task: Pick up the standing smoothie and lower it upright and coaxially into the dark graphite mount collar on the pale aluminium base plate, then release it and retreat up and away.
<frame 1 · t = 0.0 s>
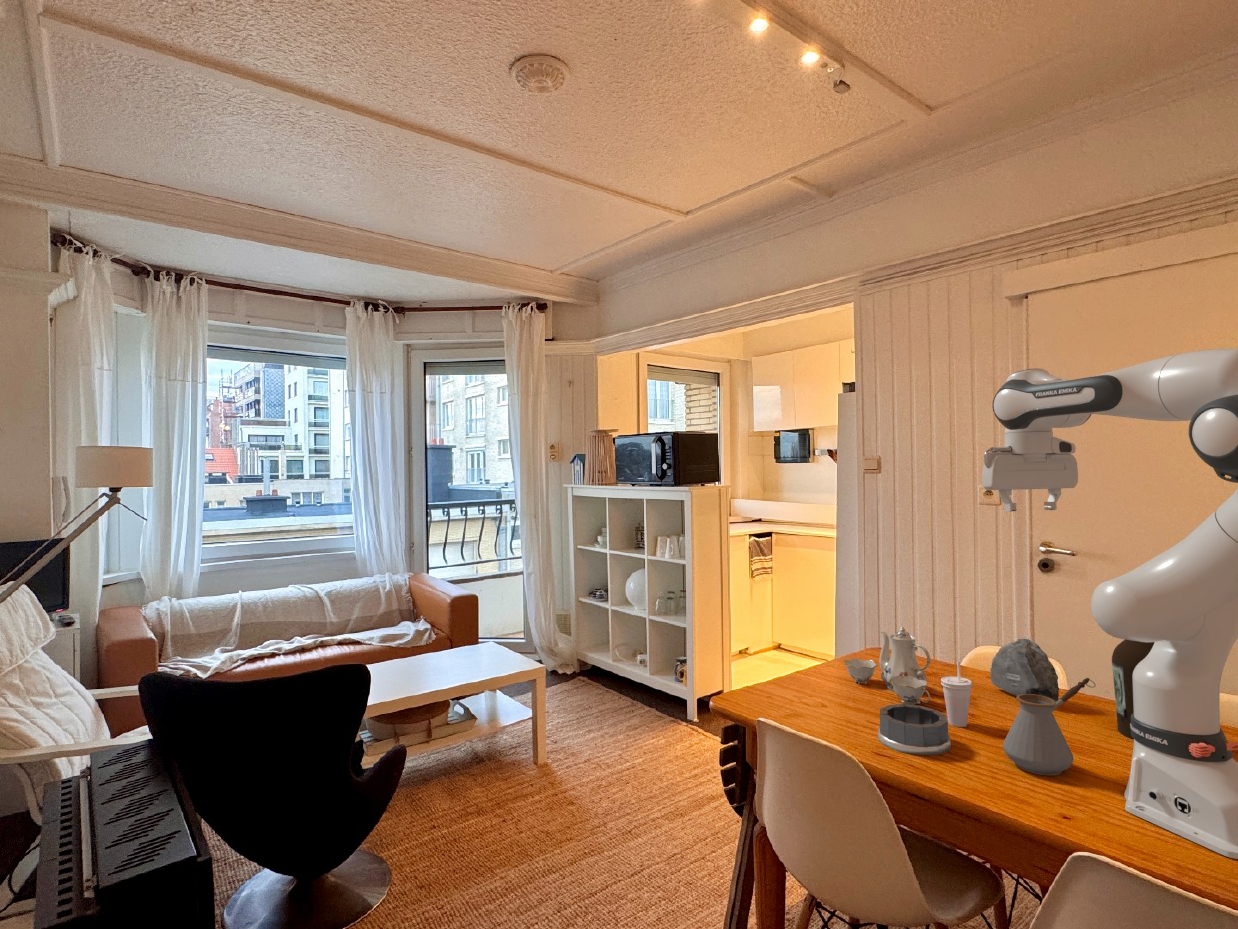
hand: (1030, 510, 141), 48 cm above the table, tool pointing down, fingers open, 8 cm apart
coffee pot: (1055, 763, 128), on the table
mount: (913, 741, 139), on the table
olive oil: (1144, 736, 139), on the table
smoothie: (957, 724, 148), on the table
decorative rock: (1023, 699, 163), on the table
chinaware: (894, 691, 171), on the table
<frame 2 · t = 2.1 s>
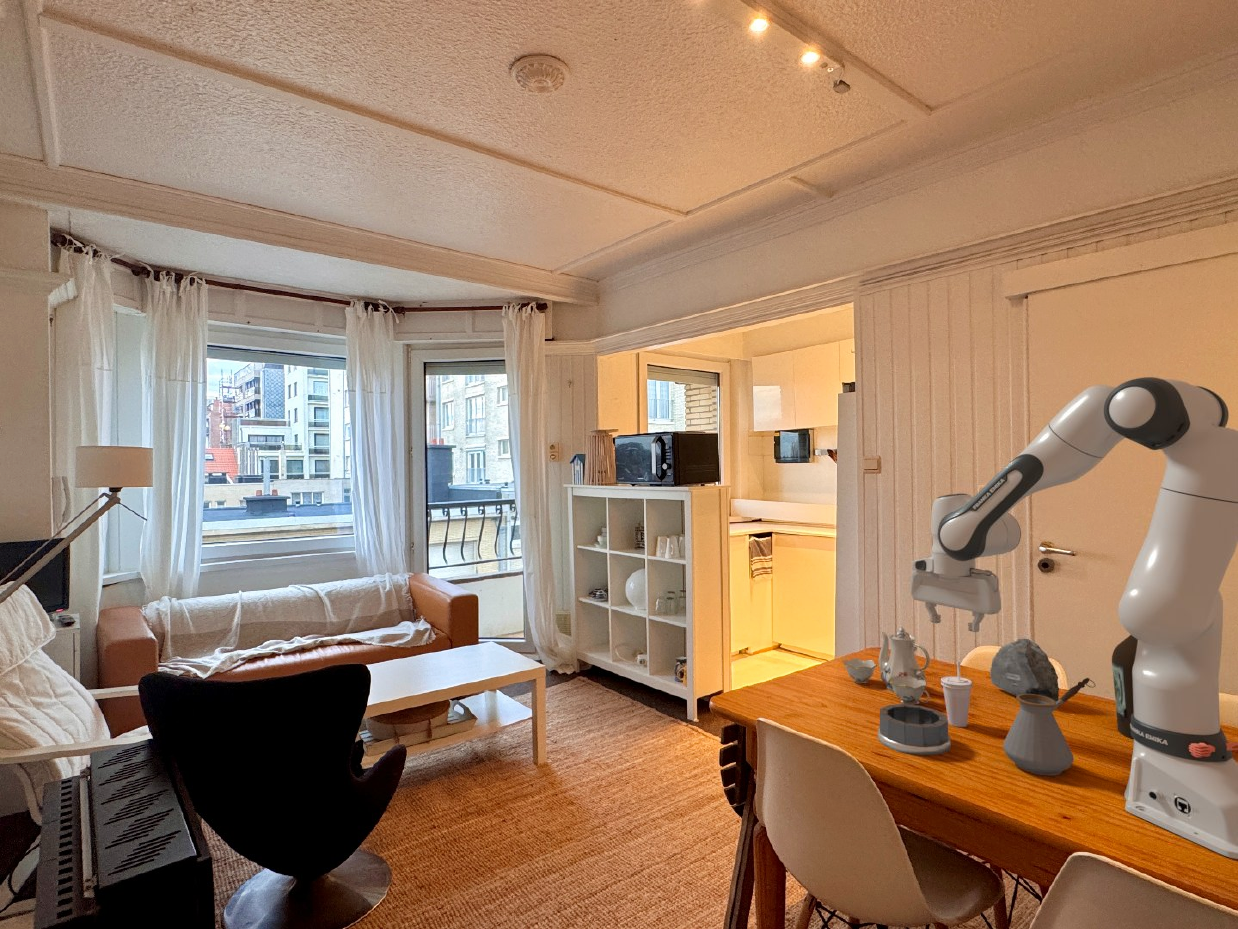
hand: (954, 626, 148), 22 cm above the table, tool pointing down, fingers open, 8 cm apart
nothing on the table moved.
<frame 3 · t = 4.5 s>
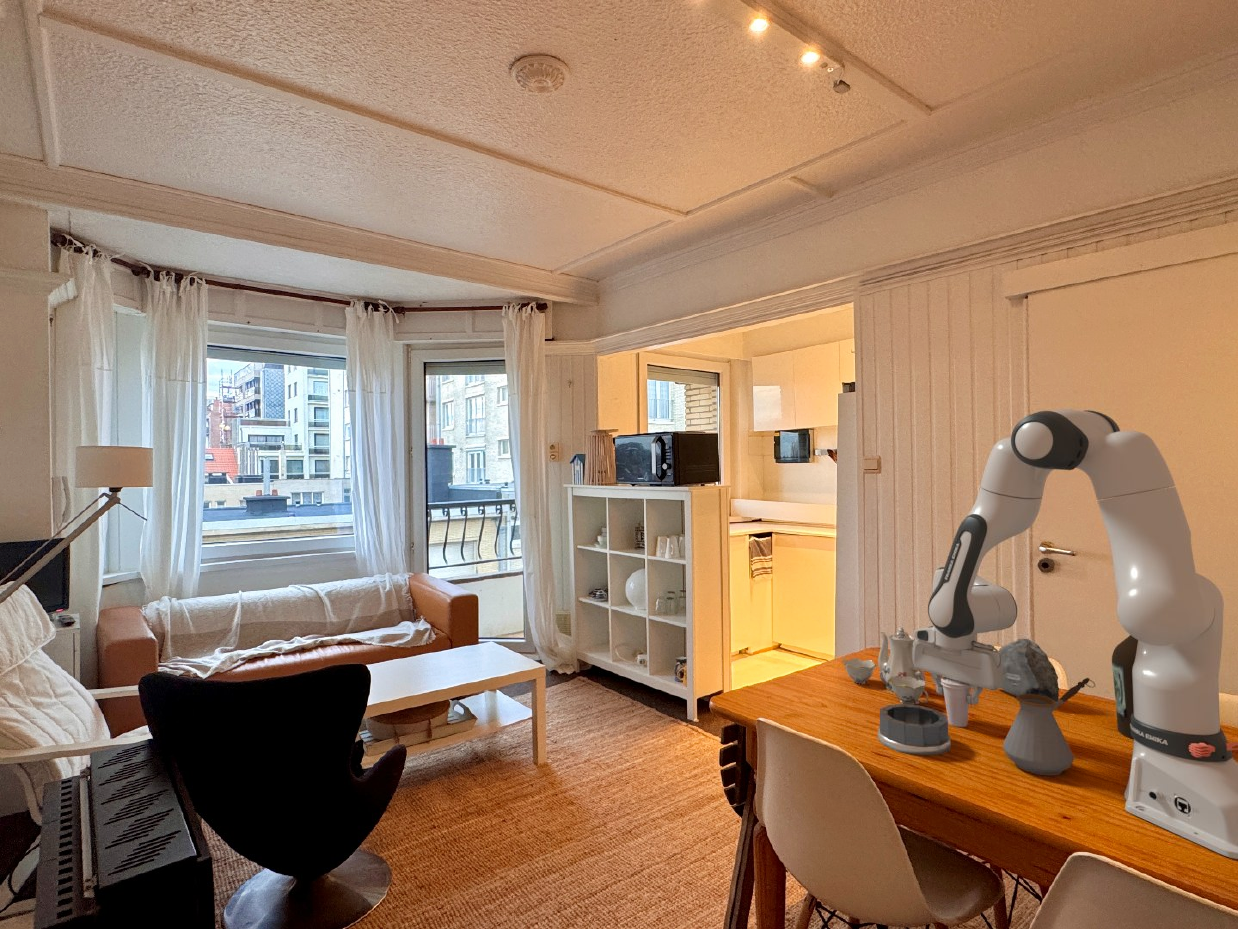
hand: (956, 698, 148), 6 cm above the table, tool pointing down, fingers closed on smoothie, 6 cm apart
smoothie: (957, 724, 148), on the table, touching gripper
everything else where it was.
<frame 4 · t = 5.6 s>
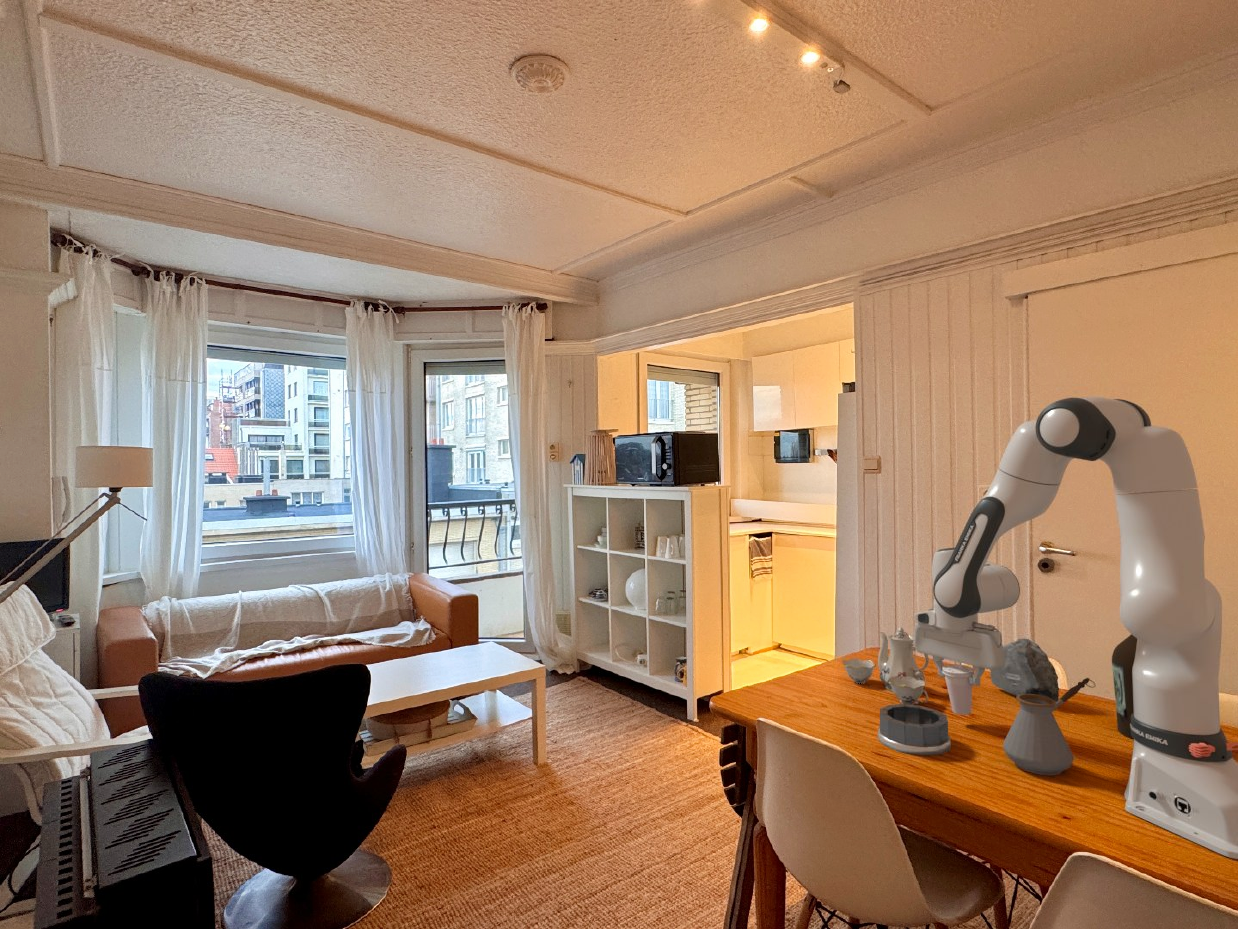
hand: (958, 681, 147), 10 cm above the table, tool pointing down, fingers closed on smoothie, 6 cm apart
smoothie: (961, 712, 147), point 3 cm above the table, touching gripper
everything else where it was.
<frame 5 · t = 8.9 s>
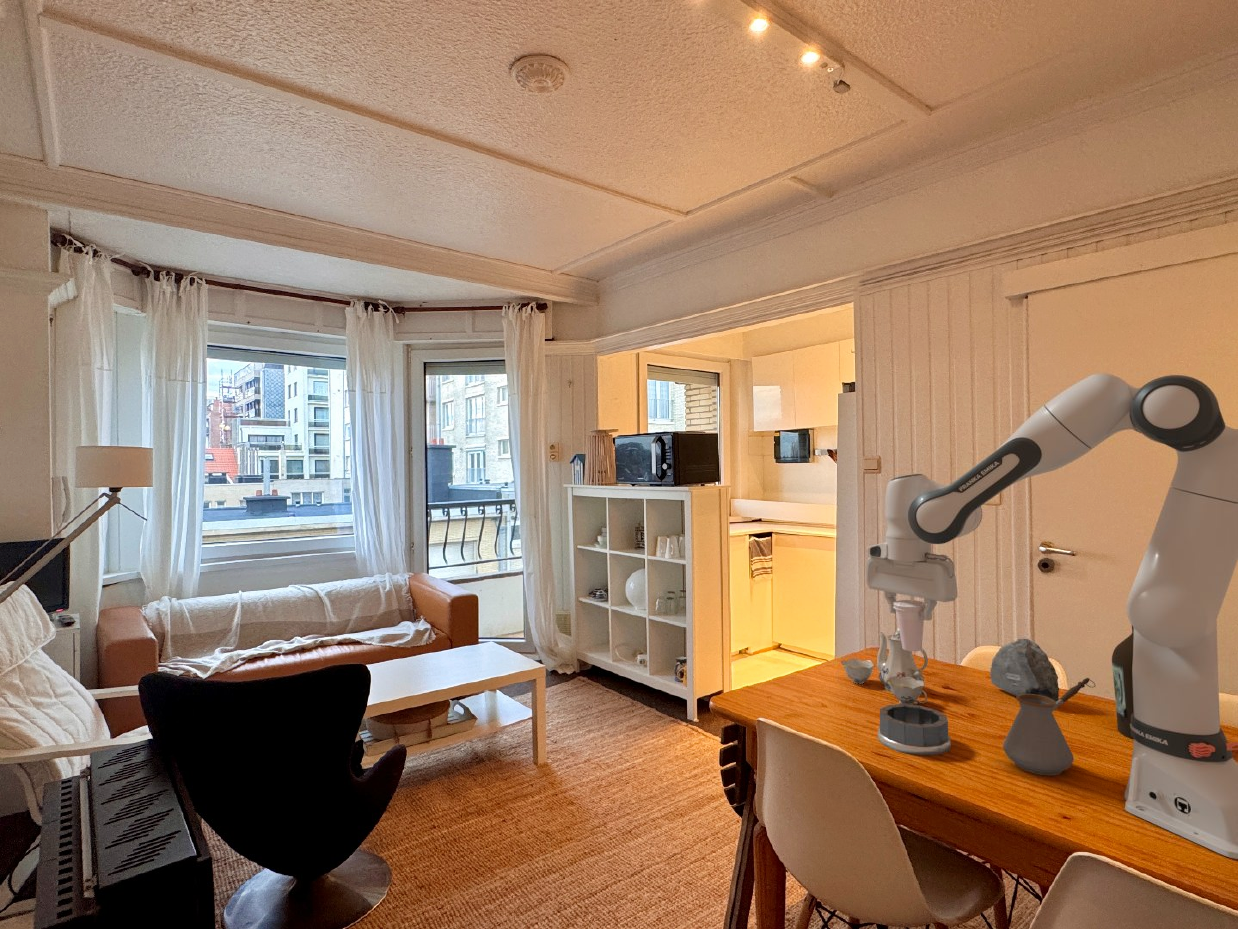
hand: (910, 616, 139), 26 cm above the table, tool pointing down, fingers closed on smoothie, 6 cm apart
smoothie: (912, 649, 139), point 19 cm above the table, touching gripper
everything else where it was.
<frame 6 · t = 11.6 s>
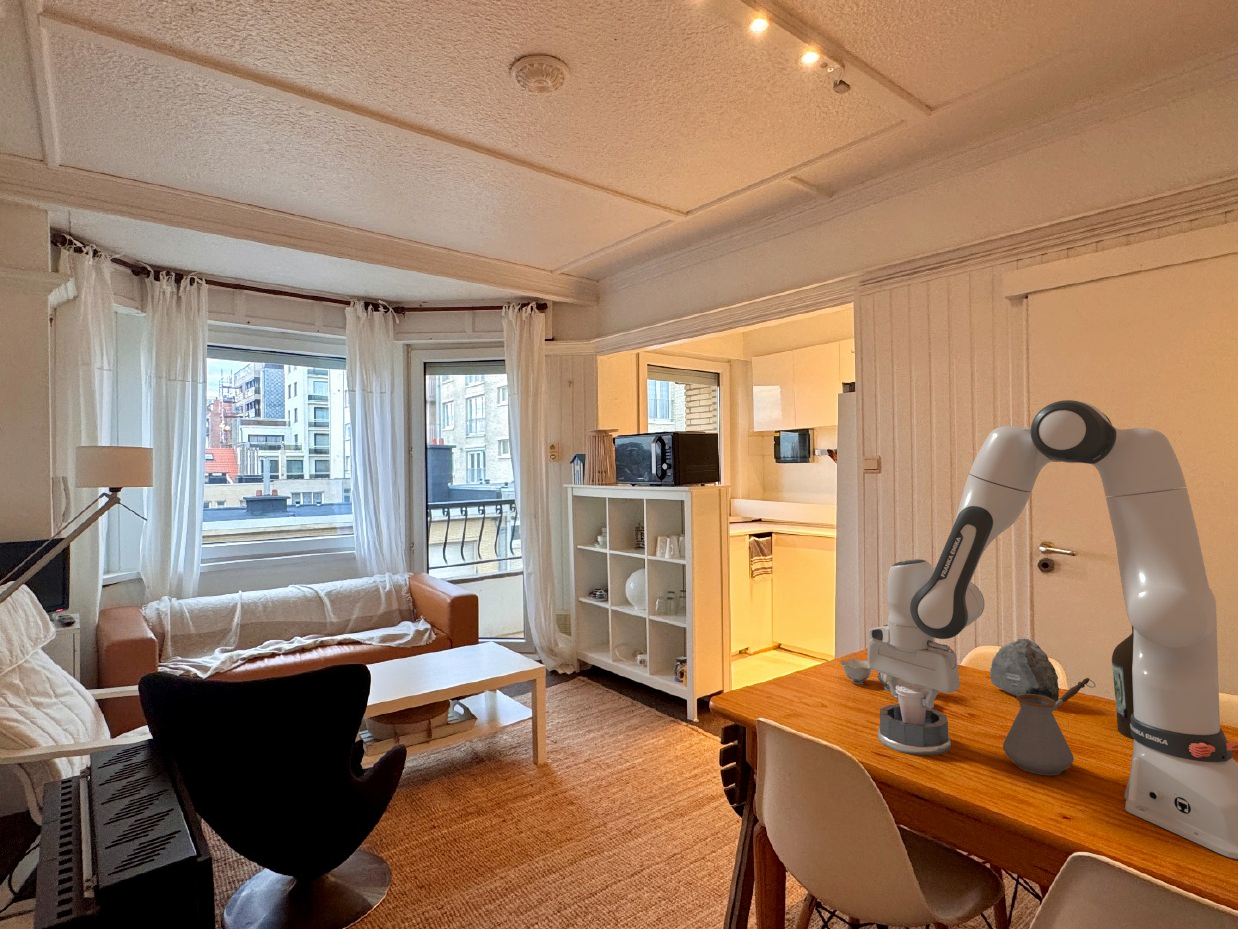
hand: (912, 702, 139), 8 cm above the table, tool pointing down, fingers closed on smoothie, 6 cm apart
smoothie: (914, 734, 139), point 1 cm above the table, touching gripper, mount
when the fingers open (8 cm above the table, at t = 12.5 s): smoothie stays where it is, resting on mount.
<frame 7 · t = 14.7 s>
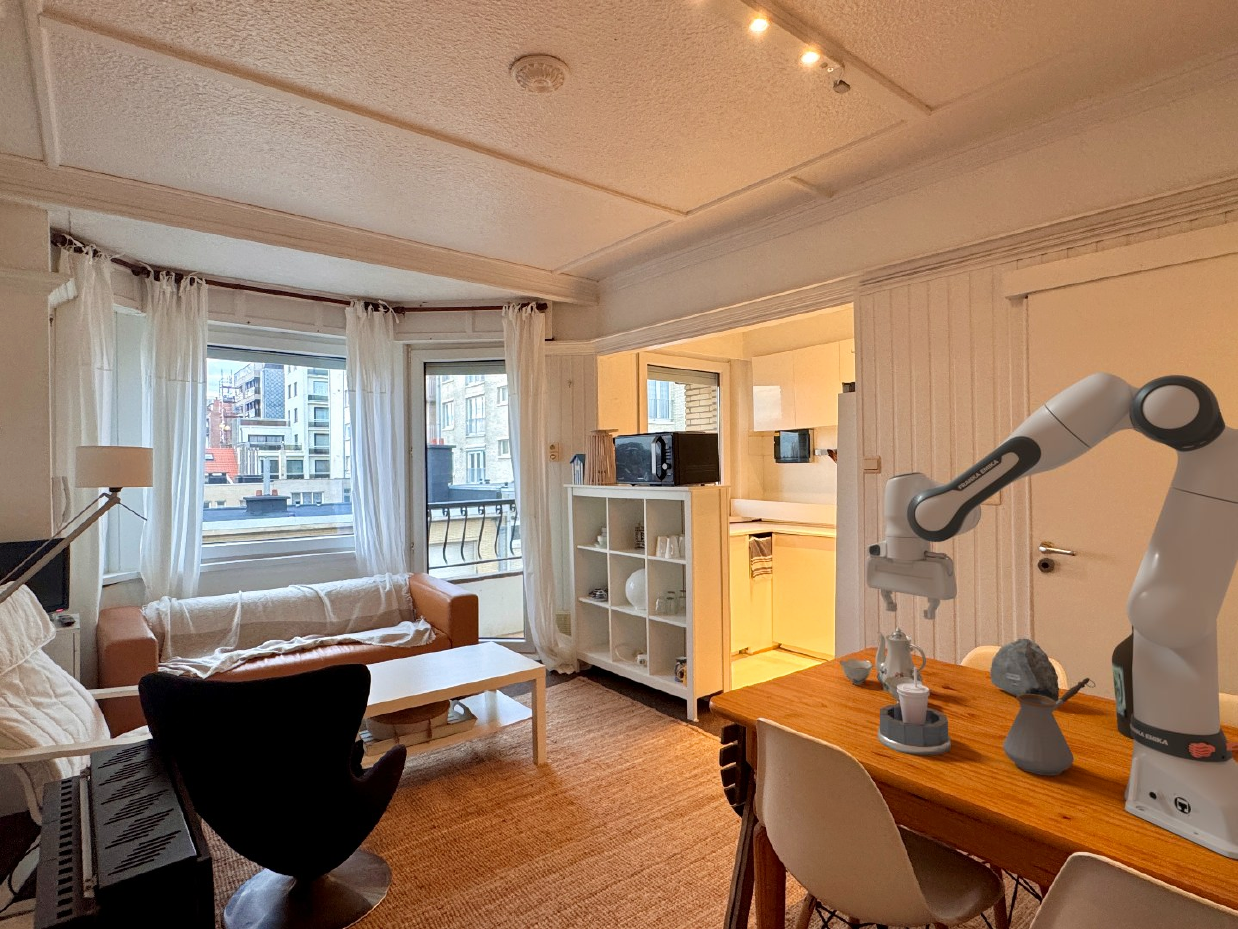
hand: (910, 615, 139), 27 cm above the table, tool pointing down, fingers open, 8 cm apart
smoothie: (914, 734, 139), point 1 cm above the table, touching mount
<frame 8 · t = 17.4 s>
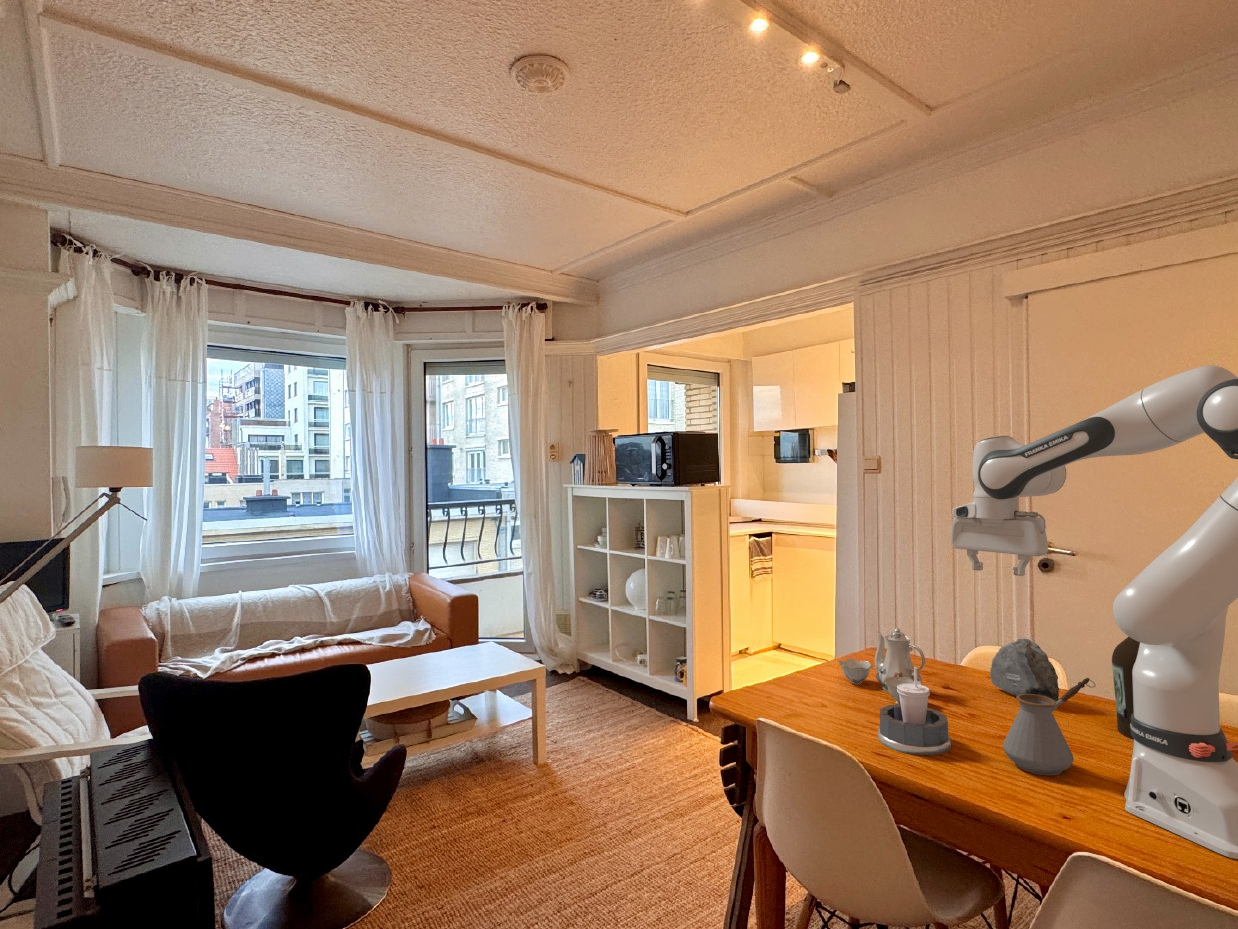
hand: (997, 572, 145), 34 cm above the table, tool pointing down, fingers open, 8 cm apart
at the end: smoothie 0.3 cm from the mount (horizontally); smoothie point 1.3 cm above the table; smoothie tilted 0° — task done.
